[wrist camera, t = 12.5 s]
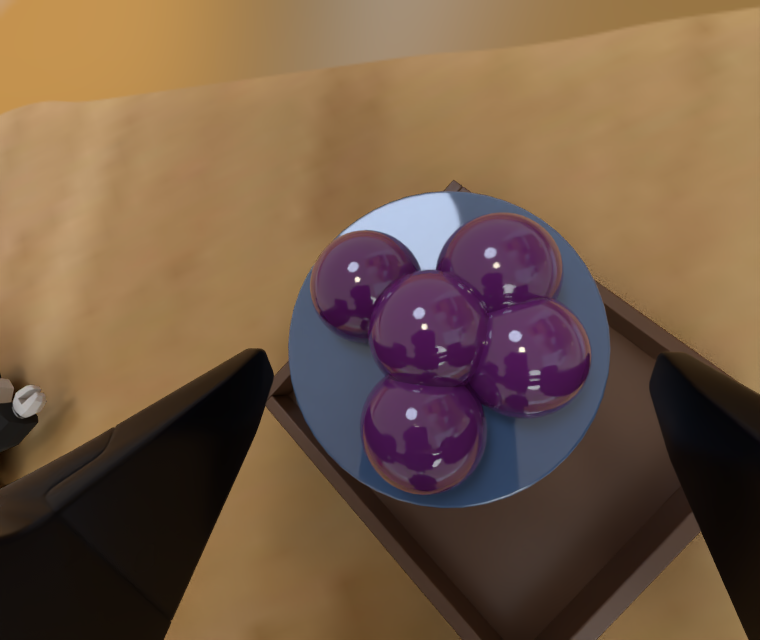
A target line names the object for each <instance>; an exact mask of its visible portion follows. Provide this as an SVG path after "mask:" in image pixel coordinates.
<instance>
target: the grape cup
mask: <svg viewBox="0 0 760 640" xmlns="http://www.w3.org/2000/svg"><path fill="white" fill-rule="evenodd" d="M288 351H289V368H290V375H291V381H292V385H293V389H294V393H295V396H296V400H297V403H298V405H299V407H300V410H301V412H302V414H303V417H304V419H305V421H306V423H307V424H308V426H309V428H310V430H311V431H312V433H313V435H314V437H315V438H316V439H317V441H318V442H319V443H320V445H321V446H322V447H323V448H324V450H325V451H326V452H327V454H328V455H329V456H330V457H331V458H332V459H333V460H334V461H335V462H336V463H337V464H338V465H339V466H340V467H341V468H342V469H344V470H345V471H346V472H348V473H349V474H350V475H351V476H353V477H354V478H355V479H357V480H358V481H359V482H361V483H363V484H365V485H366V486H368V487H370V488H372V489H373V490H375V491H377V492H379V493H381V494H384V495H386V496H389V497H391V498H393V499H396V500H399V501H403V502H407V503H410V504H414V505H418V506H426V507H434V508H467V507H473V506H479V505H485V504H489V503H492V502H496V501H499V500H502V499H505V498H508V497H511V496H513V495H515V494H517V493H519V492H521V491H523V490H525V489H527V488H529V487H531V486H533V485H534V484H536V483H537V482H539V481H540V480H542V479H543V478H545V477H546V476H548V475H549V474H550V473H552V472H553V471H554V470H555V469H556V468H557V467H558V466H559V465H560V464H561V463H562V462H564V461H565V460H566V459H567V458H568V457H569V455H570V454H571V453H572V452H573V451H574V449H575V448H576V447H577V446H578V444H579V443H580V442H581V441H582V439H583V438H584V436H585V434H586V433H587V431H588V429H589V428H590V426H591V424H592V422H593V421H594V419H595V417H596V414H597V412H598V409H599V407H600V404H601V402H602V399H603V397H604V392H605V388H606V384H607V380H608V375H609V366H610V354H611V348H610V332H609V325H608V320H607V315H606V311H605V306H604V303H603V301H602V298H601V295H600V293H599V290H598V287H597V285H596V283H595V281H594V279H593V277H592V275H591V274H590V272H589V270H588V268H587V266H586V265H585V263H584V262H583V261H582V259H581V258H580V257H579V255H578V254H577V253H576V251H575V250H574V248H573V247H572V246H571V245H570V244H569V243H568V242H567V241H566V240H565V239H564V238H563V237H562V236H561V235H560V234H559V233H558V232H557V231H556V230H554V229H553V228H552V227H550V226H549V225H548V224H547V223H545V222H544V221H543V220H542V219H540V218H538V217H537V216H535V215H533V214H531V213H530V212H528V211H526V210H525V209H523V208H521V207H518V206H516V205H514V204H511V203H509V202H507V201H504V200H501V199H497V198H494V197H490V196H487V195H482V194H476V193H470V192H456V191H441V192H429V193H423V194H418V195H413V196H408V197H405V198H402V199H399V200H396V201H393V202H390V203H387V204H385V205H383V206H381V207H379V208H377V209H374V210H372V211H371V212H369V213H367V214H366V215H364V216H363V217H361V218H359V219H358V220H356V221H355V222H354V223H352V224H351V225H350V226H348V227H347V228H346V229H345V230H343V231H342V232H341V233H340V234H339V235H338V236H337V237H336V238H335V239H334V240H333V241H332V242H331V243H330V244H329V245H328V246H327V247H326V248H325V249H324V250H323V251H322V252H321V254H320V255H319V257H318V258H317V260H316V262H315V264H314V265H313V267H312V268H311V270H310V271H309V273H308V275H307V277H306V279H305V281H304V283H303V285H302V287H301V289H300V292H299V295H298V298H297V301H296V304H295V306H294V310H293V315H292V319H291V324H290V332H289V343H288Z"/></svg>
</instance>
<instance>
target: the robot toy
mask: <svg viewBox="0 0 760 640" xmlns="http://www.w3.org/2000/svg"><path fill="white" fill-rule="evenodd" d="M13 391H14V387H13V385H12V384H11V382H10V380H9V379H3V378H1V375H0V452H2V451H4V450H7V449H9V448H11V447H14V446H16V445H18V444H19V443H20V442H21V441H22V440H23V439H24V438H25V436H26V435H27V434H28V433H29V432H30V431H31V430H32V429H33V428H34V426H35V425H36V424H37V423H38V416H37V414H36V413H38V412H40V411H41V410H42V409H43V407H44V405H45V403H46V402H47V401H46V396H45V394H44V393H40V391H41V388H40V387H39V386H36V385H27V386H25V387H23V388H22V389H21V390H19V391H18V392H16V394H15V397H14V400H13V402H11V401H12V396H13Z"/></svg>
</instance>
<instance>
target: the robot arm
mask: <svg viewBox="0 0 760 640" xmlns="http://www.w3.org/2000/svg"><path fill="white" fill-rule="evenodd" d="M273 380H274V373H273V370H272V367H271V365H270V362H269V360H268V357H267V354H266V352H265V351H264V350H263V349H259V348H250V349H246V350H244V351H243V352H241V353H239V354H237V355H236V356H234V357H232V358H231V359H229V360H227V361H226V362H224V363H222V364H220V365H219V366H217V367H215V368H214V369H212V370H210V371H208V372H207V373H205V374H203V375H202V376H200V377H198V378H197V379H195V380H193V381H191V382H190V383H188V384H186V385H185V386H183V387H181V388H179V389H178V390H176V391H174V392H173V393H171V394H169V395H168V396H166V397H164V398H162V399H161V400H159V401H157V402H156V403H154V404H152V405H150V406H149V407H147V408H145V409H144V410H142V411H140V412H138V413H137V414H135V415H133V416H132V417H130V418H128V419H127V420H125V421H123V422H121V423H120V424H118V425H117V426H116V427H115V428H114V427H113V428H111V429H109V430H108V431H106V432H104V433H103V434H101V435H99V436H97V437H96V438H94V439H92V440H90V441H89V442H87V443H85V444H83V445H82V446H80V447H78V448H76V449H75V450H73V451H71V452H69V453H67V454H65V455H64V456H62V457H60V458H58V459H56V460H54V461H52V462H51V463H49V464H47V465H45V466H43V467H41V468H39V469H37V470H35V471H34V472H32V473H30V474H28V475H26V476H24V477H22V478H20V479H18V480H16V481H15V482H13V483H11V484H9V485H7V486H5V487H3V488H1V489H0V640H164V638H165V635H166V633H167V631H168V629H169V627H170V624H171V620H172V619H173V617H174V615H175V613H176V610H177V608H178V606H179V604H180V602H181V599H182V597H183V595H184V593H185V590H186V588H187V586H188V584H189V582H190V579H191V577H192V575H193V573H194V570H195V568H196V566H197V564H198V561H199V559H200V557H201V555H202V553H203V550H204V548H205V546H206V544H207V541H208V539H209V537H210V535H211V533H212V530H213V528H214V526H215V524H216V521H217V519H218V517H219V515H220V513H221V510H222V508H223V506H224V504H225V501H226V499H227V497H228V495H229V492H230V490H231V488H232V486H233V484H234V481H235V479H236V477H237V475H238V472H239V470H240V468H241V466H242V464H243V461H244V459H245V457H246V455H247V452H248V450H249V448H250V446H251V444H252V441H253V439H254V437H255V434H256V432H257V429H258V426H259V424H260V420H261V417H262V414H263V411H264V408H265V405H266V402H267V399H268V396H269V393H270V390H271V387H272V384H273ZM649 392H650V396H651V399H652V402H653V406H654V409H655V412H656V416H657V419H658V423H659V426H660V429H661V433H662V436H663V439H664V443H665V446H666V449H667V452H668V455H669V458H670V461H671V463H672V466H673V468H674V471H675V473H676V475H677V478H678V480H679V482H680V485H681V487H682V489H683V491H684V494H685V496H686V498H687V501H688V503H689V505H690V507H691V510H692V512H693V514H694V517H695V519H696V521H697V523H698V526H699V528H700V530H701V532H702V535H703V537H704V539H705V542H706V544H707V546H708V548H709V551H710V553H711V555H712V558H713V560H714V562H715V564H716V567H717V569H718V571H719V574H720V576H721V578H722V580H723V583H724V585H725V587H726V589H727V592H728V594H729V596H730V599H731V601H732V603H733V605H734V608H735V610H736V612H737V615H738V617H739V619H740V621H741V624H742V626H743V628H744V631H745V633H746V635H747V637H748V640H760V394H758V393H756V392H755V391H753V390H751V389H749V388H748V387H746V386H744V385H742V384H741V383H739V382H737V381H735V380H733V379H732V378H730V377H728V376H726V375H725V374H723V373H721V372H719V371H718V370H716V369H714V368H712V367H711V366H709V365H707V364H705V363H704V362H702V361H700V360H698V359H696V358H695V357H693V356H691V355H689V354H687V353H685V352H661V353H660V354H659V355H658V356H657V359H656V362H655V365H654V368H653V371H652V375H651V378H650V381H649Z"/></svg>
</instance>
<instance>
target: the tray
mask: <svg viewBox="0 0 760 640" xmlns="http://www.w3.org/2000/svg"><path fill="white" fill-rule="evenodd" d="M444 191H456V192H470V191H469V190H467V189H466V188H464V187H462V185H460V184H459V183H457V182H456V181H455V180H453V181H452V182H451V183H450V184H449V185H448V187H447V188H446V189H445V190H444ZM470 193H471V192H470ZM594 281H595V280H594ZM595 283H596V285H597V287H598V290H599V293H600V295H601V298H602V301H603V303H604V306H605V311H606V315H607V320H608V325H609V332H610V348H611V354H610V366H609V375H608V380H607V384H606V388H605V392H604V397H603V399H602V402H601V404H600V407H599V409H598V412H597V414H596V417H595V419H594V421H593V422H592V424H591V426H590V428H589V429H588V431H587V433H586V434H585V436H584V438H583V439H582V441H581V442H580V443H579V444H578V446H577V447H576V448H575V449H574V451H573V452H572V453H571V454H570V455H569V457H568V458H567V459H566V460H565V461H564V462H562V463H561V464H560V465H559V466H558V467H557V468H556V469H555V470H554V471H553V472H552V473H550V474H549V475H548V476H546V477H545V478H543V479H542V480H540V481H539V482H537V483H536V484H534V485H533V486H531V487H529V488H527V489H525V490H523V491H521V492H519V493H517V494H515V495H513V496H511V497H508V498H505V499H502V500H499V501H496V502H492V503H489V504H485V505H479V506H473V507H467V508H434V507H426V506H418V505H414V504H410V503H407V502H403V501H399V500H396V499H393V498H391V497H389V496H386V495H384V494H381V493H379V492H377V491H375V490H373V489H372V488H370V487H368V486H366V485H365V484H363V483H361V482H359V481H358V480H357V479H355V478H354V477H353V476H351V475H350V474H349V473H348V472H346V471H345V470H344V469H342V468H341V467H340V466H339V465H338V464H337V463H336V462H335V461H334V460H333V459H332V458H331V457H330V456H329V455H328V454H327V452H326V451H325V450H324V448H323V447H322V446H321V445H320V443H319V442H318V441H317V439H316V438H315V437H314V435H313V433H312V431H311V430H310V428H309V426H308V424H307V423H306V421H305V419H304V417H303V414H302V412H301V410H300V407H299V405H298V403H297V400H296V396H295V393H294V389H293V385H292V381H291V375H290V368H289V361H288V362H287V363H286V364H285V365H284V366H283V367H282V368H281V369H280V370H279V371H278V373H277V374H276V375H275V376H274V380H273V384H272V387H271V390H270V393H269V396H268V399H267V402H266V405H265V406H266V407H267V408H268V410H269V411H270V412H271V413H272V414H273V416H274V417H275V418H276V419H277V420H278V422H279V423H280V424H281V425H282V426H283V427H284V429H285V430H286V431H287V432H288V433H289V435H290V436H291V437H292V438H293V439H294V440H295V442H296V443H297V444H298V445H299V446H300V448H301V449H302V450H303V451H304V452H305V454H306V455H307V456H308V457H309V458H310V459H311V461H312V462H313V463H314V464H315V465H316V467H317V468H318V469H319V470H320V471H321V472H322V474H323V475H324V476H325V477H326V478H327V480H328V481H329V482H330V483H331V484H332V486H333V487H334V488H335V489H336V490H337V491H338V493H339V494H340V495H341V496H342V497H343V499H344V500H345V501H346V502H347V503H348V505H349V506H350V507H351V508H352V509H353V510H354V512H355V513H356V514H357V515H358V516H359V518H360V519H361V520H362V521H363V522H364V523H365V525H366V526H367V527H368V528H369V529H370V531H371V532H372V533H373V534H374V535H375V537H376V538H377V539H378V540H379V541H380V542H381V544H382V545H383V546H384V547H385V548H386V550H387V551H388V552H389V553H390V554H391V556H392V557H393V558H394V559H395V560H396V561H397V563H398V564H399V565H400V566H401V567H402V569H403V570H404V571H405V572H406V573H407V574H408V576H409V577H410V578H411V579H412V580H413V582H414V583H415V584H416V585H417V586H418V588H419V589H420V590H421V591H422V592H423V593H424V595H425V596H426V597H427V598H428V599H429V601H430V602H431V603H432V604H433V605H434V606H435V608H436V609H437V610H438V611H439V612H440V614H441V615H442V616H443V617H444V618H445V620H446V621H447V622H448V623H449V624H450V625H451V627H452V628H453V629H454V630H455V631H456V633H457V634H458V635H459V636H460V637H461V639H462V640H597V639H598V638H599V637H600V636H601V635H602V634H603V633H604V632H605V630H606V629H607V628H608V627H609V626H610V625H611V624H612V623H613V622H614V621H615V620H616V619H617V618H618V617H619V616H620V615H621V614H622V613H623V612H624V611H625V610H626V609H627V608H628V606H629V605H630V604H631V603H632V602H633V601H634V600H635V599H636V598H637V597H638V596H639V595H640V594H641V593H642V592H643V591H644V590H645V589H646V588H647V587H648V586H649V585H650V584H651V583H652V581H653V580H654V579H655V578H656V577H657V576H658V575H659V574H660V573H661V572H662V571H663V570H664V569H665V568H666V567H667V566H668V565H669V564H670V563H671V562H672V561H673V560H674V559H675V557H676V556H677V555H678V554H679V553H680V552H681V551H682V550H683V549H684V548H685V547H686V546H687V545H688V544H689V543H690V542H691V541H692V540H693V539H694V538H695V537H696V536H697V535H698V534H699V532H700V531H701V530H700V528H699V526H698V523H697V521H696V519H695V517H694V514H693V512H692V510H691V507H690V505H689V503H688V501H687V498H686V496H685V494H684V491H683V489H682V487H681V485H680V482H679V480H678V478H677V475H676V473H675V471H674V468H673V466H672V463H671V461H670V458H669V455H668V452H667V449H666V446H665V443H664V439H663V436H662V433H661V429H660V426H659V423H658V419H657V416H656V412H655V409H654V406H653V402H652V399H651V396H650V392H649V381H650V378H651V375H652V371H653V368H654V365H655V362H656V359H657V356H658V355H659V354H660V353H661V352H685V353H687V354H689V355H691V356H693V357H695V358H696V359H698V360H700V361H702V362H704V363H705V364H707V365H709V366H711V367H712V368H714V369H716V370H718V371H719V372H721V373H723V374H725V375H726V376H728V377H730V376H729V375H727V374H726V373H725V372H723V371H722V370H720V369H719V368H718V367H716V366H715V365H713V364H712V363H711V362H709V361H708V360H706V359H705V358H704V357H702V356H701V355H699V354H698V353H697V352H695V351H694V350H692V349H691V348H690V347H688V346H687V345H685V344H684V343H682V342H681V341H680V340H678V339H677V338H675V337H674V336H673V335H671V334H670V333H668V332H667V331H666V330H664V329H663V328H661V327H660V326H659V325H657V324H656V323H654V322H653V321H652V320H650V319H649V318H647V317H646V316H645V315H643V314H642V313H640V312H639V311H637V310H636V309H635V308H633V307H632V306H630V305H629V304H628V303H626V302H625V301H623V300H622V299H621V298H619V297H618V296H616V295H615V294H614V293H612V292H611V291H609V290H608V289H607V288H605V287H604V286H602V285H601V284H599V283H598V282H597V281H595ZM730 378H732V377H730ZM732 379H733V378H732ZM733 380H735V379H733ZM735 381H736V380H735Z"/></svg>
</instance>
